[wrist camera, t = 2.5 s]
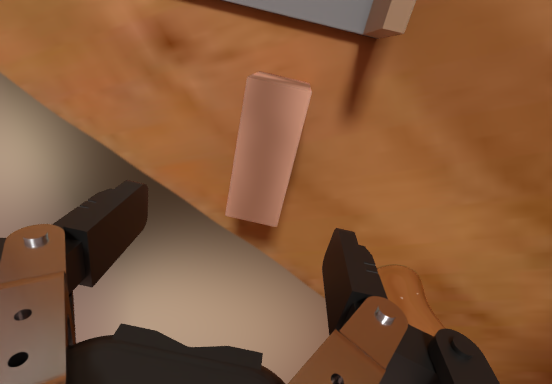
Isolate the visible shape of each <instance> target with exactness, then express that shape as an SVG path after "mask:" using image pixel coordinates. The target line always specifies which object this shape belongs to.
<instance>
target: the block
mask: <svg viewBox="0 0 552 384" xmlns="http://www.w3.org/2000/svg"><path fill="white" fill-rule="evenodd" d="M311 94H312V91H311V87H310V84H309V83H307V82H303V81H299V80H295V79H290V78H286V77H282V76H278V75H274V74H270V73H265V72H261V71H259V72H257V73H255V74H252V75H250V76H248V77H247V81H246V88H245V94H244V100H243V107H242V113H241V119H240V126H239V132H238V138H237V145H236V151H235V157H234V164H233V170H232V176H231V183H230V189H229V195H228V202H227V208H226V214H225V216H229V217H233V218H238V219H242V220H247V221H251V222H255V223H260V224H264V225H269V226H273V227H277V225H278V221H279V217H280V213H281V209H282V205H283V201H284V198H285V194H286V190H287V186H288V182H289V178H290V175H291V171H292V167H293V163H294V159H295V155H296V152H297V148H298V144H299V140H300V136H301V132H302V128H303V125H304V121H305V117H306V113H307V109H308V105H309V102H310V98H311Z"/></svg>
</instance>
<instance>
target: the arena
mask: <svg viewBox="0 0 552 384" xmlns="http://www.w3.org/2000/svg"><path fill="white" fill-rule="evenodd" d="M222 1H226V2H230V3H234V4H238V5H243V6H247V7H251V8H255V9H259V10H263V11H267V12H271V13H275V14H279V15H283V16H287V17H291V18H295V19H299V20H303V21H307V22H311V23H315V24H320V25H324V26H328V27H332V28H336V29H340V30H344V31H348V32H352V33H356V34H360V35H364V36H368V37H372V38H376V39H378V38H384V37H389V36H394V35H399V34H404V32H405V29H406V27H407V24H408V21H409V18H410V16H411V13H412V10H413V8H414V5H415V2H416V0H222Z"/></svg>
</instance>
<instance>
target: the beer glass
mask: <svg viewBox="0 0 552 384" xmlns="http://www.w3.org/2000/svg"><path fill="white" fill-rule="evenodd" d="M377 270H378V274H379V276H380V279H381V281H382V284H383V287H384V290H385V292H386V295H387V298H388V300H390V301H391V302H393V303H394V304H396V305H397V306H398V307H399V308H400V309H401V310H402V311H403V313H404V314H405V316H406V318H407V320H408V324H409V325H411V326H413V327H415V328H417V329H419V330H421V331H423V332H425V333H428V334H430V335H432V336H435V334H436V333H437V332H438V330H440V329H446V328H445V327H444V326H443V324H442V323H441V322H440V321H439V319H438V318H437V317H436V315H435V314H434V312H433V311H432V309H431V308H430V306H429V304H428V302H427V299H426V296H425V293H424V289H423V285H422V282H421V279H420V277H419V276H418V275H417V274H416V273H415V272H414V271H413V270H411V269H410V268H407V267H404V266H399V265H390V266H385V267H381V268H379V269H377Z"/></svg>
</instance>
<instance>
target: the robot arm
mask: <svg viewBox="0 0 552 384" xmlns="http://www.w3.org/2000/svg"><path fill="white" fill-rule="evenodd" d="M147 216H148V187H147V185H146V184H143V183H138V182H134V181H129V180H126V181H124V182H123V183H122V184H120V185H119V186H118V187H116V188H115V189H108V190H105V191H102V192H99V193H97V194H95V195H94V196H92V197H91V198H90V199H88V201H85V202H84V203H82V204H81V205H80V207H77V208H75V209H74V210H72V211H71V212H69V213H68V214H67V215H65V216H64V217H62V218H61V219H59V220H58V221H57V222H55V223H54V224H52V225H50V224H40V225H39V224H38V225H32V226H27V227H24V228H21V229H19V230H17V231H15V232H13V233H12V234H10V235H9V236H8V237H7V238H0V384H285V383H284V382H283V381H282V380H281V379H280V378H279V377H278V376H277V375H276V374H275V373H273V372H272V371H270V370H269V369H267V368H266V367H264V366H262V365H261V363H262V355H263V354H262V353H259V352H255V351H249V350H245V349H240V348H235V347H230V346H217V347H187V346H185V345H183V344H181V343H179V342H177V341H175V340H173V339H171V338H169V337H167V336H165V335H163V334H162V333H160V332H158V331H155V330H150V329H145V328H140V327H136V326H131V325H126V324H121V325H120V326H119V328H118V329H117V331H116V332H115V334H114V335H108V336H101V337H96V338H92V339H88V340H85V341H82V342H79V343H76V333H75V314H74V297H73V290H74V289H75V288H76V287H77V286H78V285H84V286H89V287H93V286H94V285H95V284H96V283H97V282H98V280H99V279H100V278H101V277H102V276H103V275H104V274H105V272H106V271H107V270H108V269H109V268H110V267H111V266H112V265H113V263H114V262H115V261H116V260H117V259H118V258H119V257H120V255H121V254H122V253H123V252H124V251H125V250H126V248H127V247H128V246H129V245H130V244H131V243H132V242H133V241H134V239H135V238H136V237H137V236H138V235H139V234H140V233H141V231H142V230H143V229H144V227H145V225H146V222H147ZM322 272H323V281H324V290H325V299H326V308H327V317H328V327H329V335H330V336H329V337H328V338H327V339H326V340H325V342H324V343H323V344H322V345H321V346H320V347H319V348H318V350H317V351H316V352H315V353H314V354H313V355H312V357H311V358H310V359H309V360H308V361H307V362H306V363H305V365H304V366H303V367H302V368H301V369H300V370H299V371H298V373H297V374H296V375H295V376H294V377H293V378H292V380H291V381H290V382H289V383H288V384H500V383H499V381H498V380H497V378H496V376H495V374H494V372H493V371H492V369H491V367H490V365H489V363H488V362H487V360H486V358H485V356H484V355H483V353H482V352H481V350H480V349H479V348H478V347H477V346H476V345H475V344H474V343H473V342H472V341H471V340H470V339H468V338H467V337H466V336H464V335H463V334H461V333H459V332H457V331H454V330H451V329H440V330H438V332H437V333H436V334H435V336H432V335H430V334H428V333H425V332H423V331H421V330H419V329H417V328H415V327H413V326H411V325H409V324H408V320H407V318H406V316H405V314H404V313H403V311H402V310H401V309H400V308H399V307H398V306H397V305H396V304H394V303H393V302H391V301H390V300H388V298H387V295H386V292H385V290H384V287H383V284H382V281H381V279H380V276H379V274H378V270H377V268H376V266H375V262H374V259H373V257H372V255H371V254H370V252H369V251H368V250H367V249H366V248H365V246H361V245H358V242H357V238H356V235H355V233H354V232H352V231H348V230H344V229H339V228H336V229H335V230H334V232H333V235H332V238H331V240H330V243H329V246H328V248H327V251H326V254H325V256H324V260H323V266H322Z"/></svg>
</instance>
